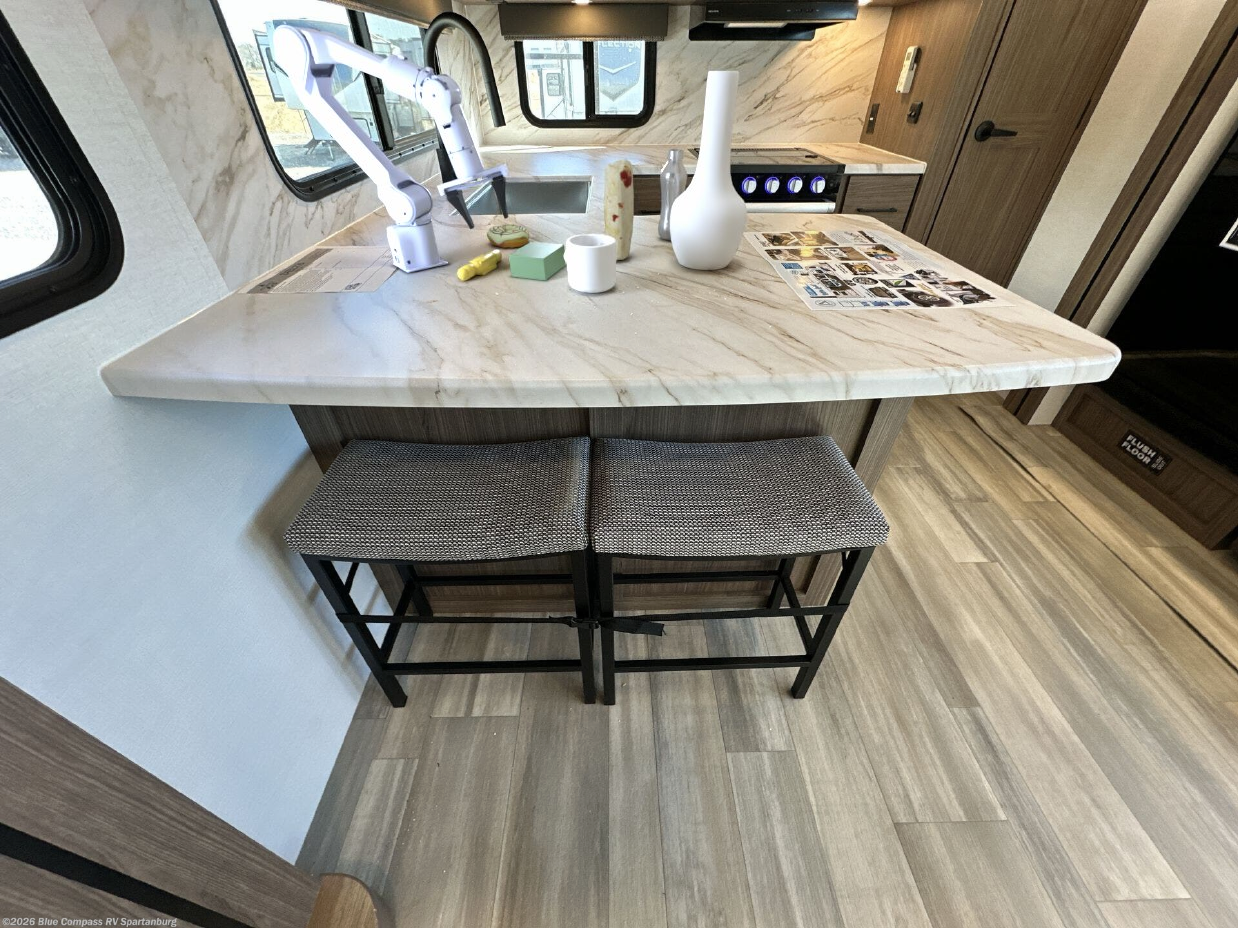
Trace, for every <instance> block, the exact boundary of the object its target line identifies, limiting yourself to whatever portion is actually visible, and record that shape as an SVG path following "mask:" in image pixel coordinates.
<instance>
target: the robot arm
mask: <svg viewBox="0 0 1238 928" xmlns="http://www.w3.org/2000/svg"><path fill="white" fill-rule="evenodd" d="M272 42H273V43H272V44H273V49H274V50H273V51H274V57H275V61H276V63H278V64H279V65H280V66H281V68H282V69H283V70H284V71H285V72H286V74H287V76H288V78H289V80H290V82H291V84H292V86H293V89H294V90H295V93H296V94H297V96H298V99H299V100H300V102H301V103H302V105H303V106H304V107H305V108H306V109H307V111H308V112H309V113H310V114H311V115H312V116H313V117H314V118H315V120H316V121H318V123H319V124H320V125H321V126H322V127H323V128H324V129H325V130H326V131H327V132H328V133H329V135H330V136H331V137H332V138H333V139H334V140H335V141H336V142H337V143H338V144H339V146H340V147H341V148H342V149H343V150H344V151H345V152H346V153H347V154H348V155H349V156H350V158H351V159H352V160H353V161H354V162H355V163H356V165H357V166H359V167H360V168H361V170H362V171H363V172H364V173H365V174H366V175H367V176H368V177H369V178H370V179H371V180H372V181H373V182H374V184H375V185H376V186H377V197H378V199H379V200H380V201H381V202H382V203H383V204H384V207H385V208H386V211H387V213H388V214H389V217H390V218H392V220H393V221H395V223H394V224H393V225H389V226H387V228H386V237H387V240H388V241H387V242H388V245H389V248H390V253H391V256H392V260H393V261H392V264H393V265H394V266H396V267H397V268H399V269H401V270H402V271H404V272H406V273H413V272H419V271H422V270H427V269H431V268H437V267H440V266H445V265H448V261H446V260H444V259H442V258H440V254H439V250H438V244H437V240H436V235H435V230H434V226H433V221H432V217H431V212H432V210H433V207H434V199H433V196H432V194H431V192H430V190H428V188H427V187H425V186H424V185H423V184H421V183H418V181H416V180H415V179H414V178H413V177H412V176H411V175H410V174H408V173H407V172H405V171H403V170H401V169H399V168H397V166H396V165H395V164H394V163H393V161H391V160H390V159H389V158H388V156H386V154H385V153H384V152H383V151H382V149H380V147H379V146H378V145H377V144H376V143H375V142H374V141H373V140H372V138H371V137H370V136H369V135H368V134H367V133H366V132H365V130H364V129H363V128H362V126H360V125H359V123H358V122H357V121H356V120H355V119H354V118H353V117H352V116H351V115H350V114H349V112H348V111H347V110H346V108H344V106H342V104H341V103H340V102H339V101H338V100H337V98H336V97H335V96H334V95H333V82H334V77H335V76H334V75H335V71H336V65H341V64H343V65H346V66H348V67H350V68H353V69H355V70H358V71H361V72H363V73H366V74H368V75H371V76H373V77H375V78H378V79H380V80H382V82H383V84H384V86H385V88H386V89H387V90H388V91H390V92H392V93H394V94H397V95H399V96H400V97H403V98H405V99H408V100H409V101H412V102H414V103H416V104H419V105H421V106H423V107H424V109H425V110H426V111H427V112H429V114H431V115H432V116H433V119H434V122H435V124H436V126H437V130H438V132H439V135H440V137H441V141H442V143H443V144H444V147H445V150H446V152H447V155H448V158H449V161H450V163H451V166H452V168H453V172H454V173H455V176H456V179H453V180H449V181H447V182H443V183H441V184H437V186H436V187H437V190H438V192H439V195H440V196H441V197H444V196H446V200H447V201H448V203H450V204H451V206H452V207H454V209H455V210H456V211H457V212H458V213H459V214H460V216H461V217H462V218H463V220H464V221H465V223H466V224H467V227H468V228H469V230H474V229H475V224H474V220H473V219H472V217H471V214H470V212H469V209H468V206H467V204H466V201H465V198H464V195H463V192H462V190H465V189H467V188H468V189H469V188H472V187H475V186H478V185H481V184H484V183H487V182H490V181H491V182H490V183H491V186H492V188H493V190H494V193H495V196H496V198H497V201H498V203H499V206H500V210H501V214H502V216H503V219H504V220H506V219H508V218H509V213H508V209H507V208H508V207H507V198H506V196H507V195H506V188H507V187H506V185H507V178H506V177H507V176H510V172H509V168H508V167H507V164H506V163H505V164H504V163H503V164H501V165H497V166H494V167H491V168H487V169H485V167H484V165H483V161H482V159H481V156H480V153H479V151H478V148H477V146H476V142H475V140H474V137H473V134H472V131H471V128H470V126H469V123H468V120H467V118H466V115H465V113H464V110H463V107H462V104H461V103H462V98H463V97H462V91H461V88H460V86H459V84H458V83H457V82H456V81H455V79H453V78H451V76H449V75H448V74H446V73H440V74H437V75H436V74H435V72H434V68H432V67H431V66H425V67H424V66H421V65H418V64H416V63H414V62H412V61H409V57H408V55H406V54H404V53H397V55H396V54H390V55H388V56H387V57H386V58H385V57H383V56H381V55H378V54H377V53H374V52H372V51H370V50H368V49H366V48H364V47H362V46H360V45H358V44H356V43H354V42H352V41H351V40H348V39H346V38H344V37H342V36H340V35H338V34H335V33H332V32H329V31H323V30H322V29H320V28H318V27H309V28H307V27H299V26H292V25H289V24H281V25H279V26H277V27H276V28H275V29H274V32H273V35H272ZM478 179H481V180H478ZM476 180H478V181H476ZM472 181H474V182H472ZM469 182H470V183H469ZM466 183H468V184H466Z"/></svg>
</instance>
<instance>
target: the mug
mask: <svg viewBox="0 0 1238 928" xmlns="http://www.w3.org/2000/svg"><path fill="white" fill-rule="evenodd" d="M565 248H566V249H565V253H564V259H565V263H566V264H567V265H566V270H567V278H568V279H567V280H568V284H569V287H571V288H572V289H574V290H575V291H578V292H580V293H587V294H597V293H604V292H607V291H609V290H611V289H613V288H614V287H615V285H616V283H617V260H616V240H615V239H614V238H613V237H611V236H607V235H605V234H602V233H601V234H600V233H584V234H583V233H582V234H576V235H572V236H570V237H568V238H567V239H566V242H565Z"/></svg>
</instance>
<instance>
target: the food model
mask: <svg viewBox="0 0 1238 928" xmlns="http://www.w3.org/2000/svg"><path fill="white" fill-rule="evenodd" d="M634 198H635V197H634V174H633V164H632V163H631V161H630V160H629V159H627V158H622V159H619V160H615V161H613V162H612V163H608V165H607V164H605V167H604V201H603V215H604V217H603V218H604V219H603V220H604V235H607V236H611V237H613V238H614V239H615V240H616V261H619V260H621V261H622V260H625V259H626V258H628V256H629V254H630V251H631V244H632V238H633V232H634V218H635V217H634V216H635V215H634V212H635V211H634V206H635V205H634V201H635V200H634Z"/></svg>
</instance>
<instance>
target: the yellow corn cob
mask: <svg viewBox="0 0 1238 928" xmlns="http://www.w3.org/2000/svg"><path fill="white" fill-rule="evenodd" d="M502 258H503V254H502V252H501V250H499V249H495V248H494V249H493V250H491V251H489V252H487V253H486V252H484V253H482V254H480V255H478V256H476V257H475V258H472V259H471V260H469V263H467V264H465V265H463V266H461V267H459V269H457V272H456V273H457V277H458V278H459V279H460V280H461V281H468V280H471V278H473V277H475V276H485V275H486V274H488V273H490V272H491V271H493V270H495V269H496V268H498V267H497V263H499V262H500V261H501V260H502Z"/></svg>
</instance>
